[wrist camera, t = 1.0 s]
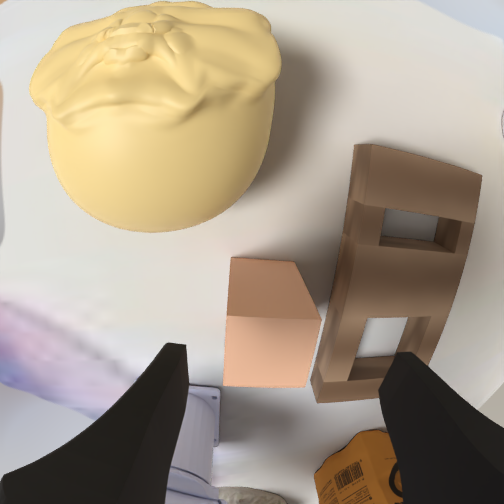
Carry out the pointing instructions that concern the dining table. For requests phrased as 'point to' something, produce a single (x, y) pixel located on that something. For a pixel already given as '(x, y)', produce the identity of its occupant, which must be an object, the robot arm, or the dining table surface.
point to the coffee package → (361, 473)
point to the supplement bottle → (503, 124)
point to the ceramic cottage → (248, 496)
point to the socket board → (393, 266)
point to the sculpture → (159, 111)
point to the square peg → (268, 325)
